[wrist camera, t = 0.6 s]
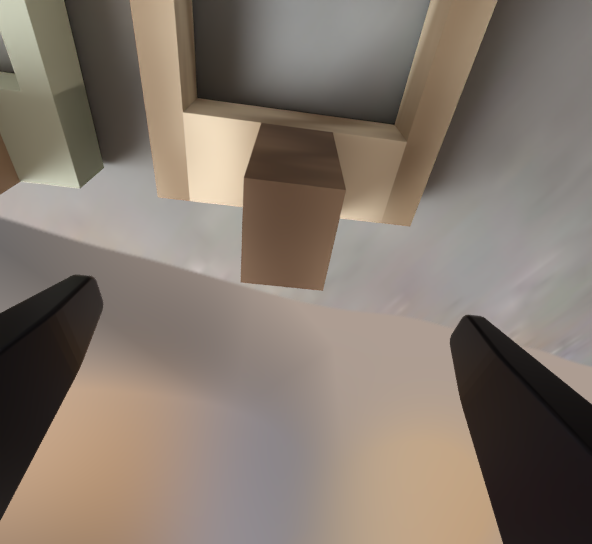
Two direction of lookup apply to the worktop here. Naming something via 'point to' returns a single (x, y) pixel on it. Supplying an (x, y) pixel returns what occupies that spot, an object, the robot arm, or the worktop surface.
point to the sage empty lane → (43, 100)
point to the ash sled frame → (299, 143)
